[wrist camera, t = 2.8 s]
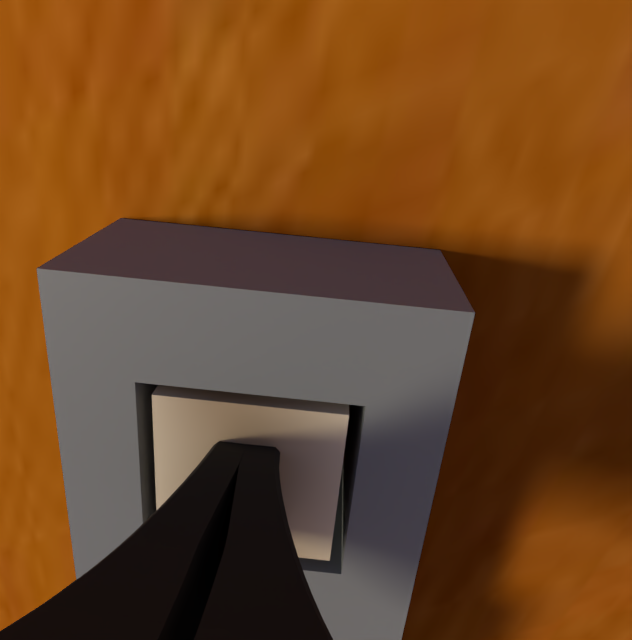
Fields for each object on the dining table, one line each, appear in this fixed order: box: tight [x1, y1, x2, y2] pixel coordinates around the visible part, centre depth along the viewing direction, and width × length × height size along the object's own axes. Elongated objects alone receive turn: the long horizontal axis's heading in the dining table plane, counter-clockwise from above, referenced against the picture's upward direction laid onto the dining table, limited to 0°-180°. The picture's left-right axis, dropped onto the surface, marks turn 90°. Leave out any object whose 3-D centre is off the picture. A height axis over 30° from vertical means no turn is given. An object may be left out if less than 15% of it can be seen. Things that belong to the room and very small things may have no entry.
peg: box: [152, 385, 349, 561], centre depth 13 cm, size 4×4×4 cm
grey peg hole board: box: [37, 218, 475, 640], centre depth 15 cm, size 8×18×4 cm, turn 175°
